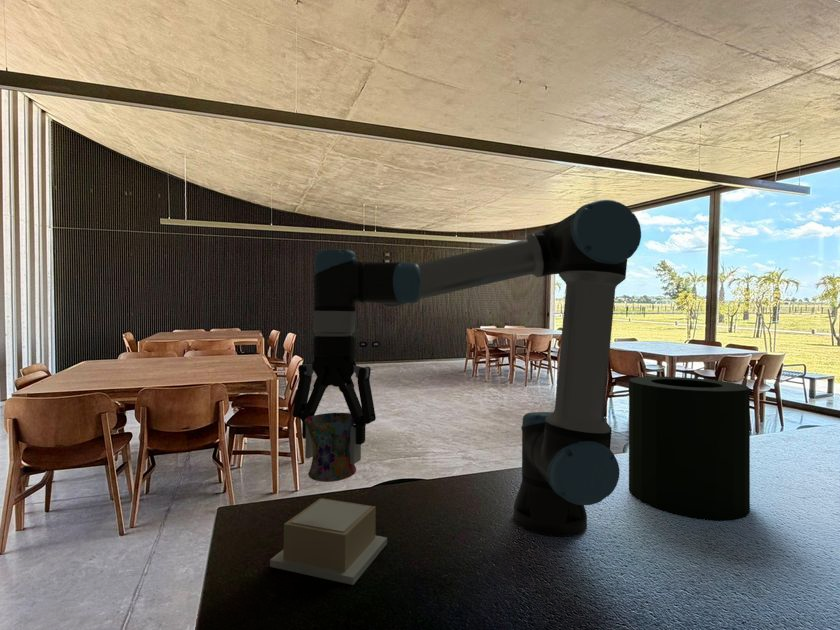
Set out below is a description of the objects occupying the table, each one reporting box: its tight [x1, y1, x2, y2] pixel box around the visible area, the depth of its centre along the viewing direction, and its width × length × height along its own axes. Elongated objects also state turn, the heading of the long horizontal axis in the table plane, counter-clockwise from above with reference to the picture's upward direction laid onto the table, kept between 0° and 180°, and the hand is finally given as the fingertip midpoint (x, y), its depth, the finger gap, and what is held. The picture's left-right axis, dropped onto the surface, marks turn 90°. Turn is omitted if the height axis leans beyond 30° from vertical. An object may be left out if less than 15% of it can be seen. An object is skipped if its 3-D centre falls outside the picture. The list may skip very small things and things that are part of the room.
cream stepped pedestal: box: [269, 497, 388, 586], centre depth 81 cm, size 16×14×7 cm
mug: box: [304, 412, 357, 483], centre depth 81 cm, size 12×9×11 cm
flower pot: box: [628, 376, 751, 522], centre depth 108 cm, size 25×25×28 cm
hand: (332, 458), depth 81 cm, fingers closed on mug, 8 cm apart
